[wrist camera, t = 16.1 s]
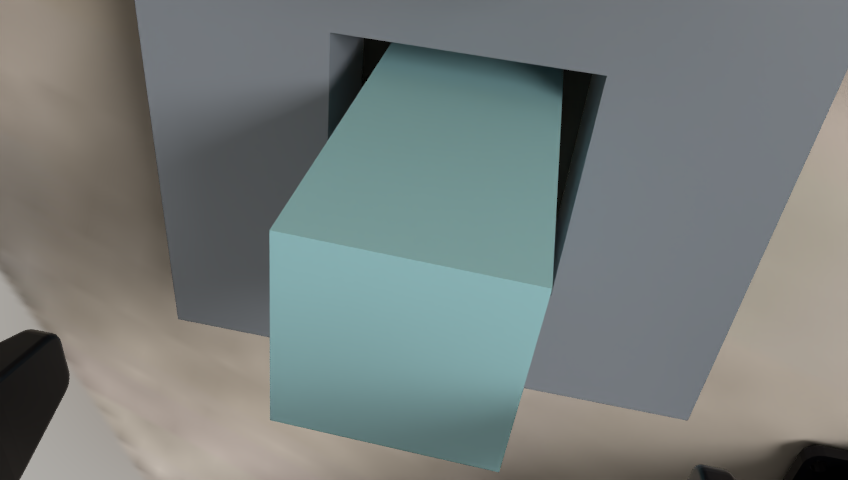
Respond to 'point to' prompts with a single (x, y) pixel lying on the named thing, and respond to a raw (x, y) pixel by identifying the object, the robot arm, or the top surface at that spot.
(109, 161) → the top surface
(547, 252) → the plug
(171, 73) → the socket plate
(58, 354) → the robot arm
